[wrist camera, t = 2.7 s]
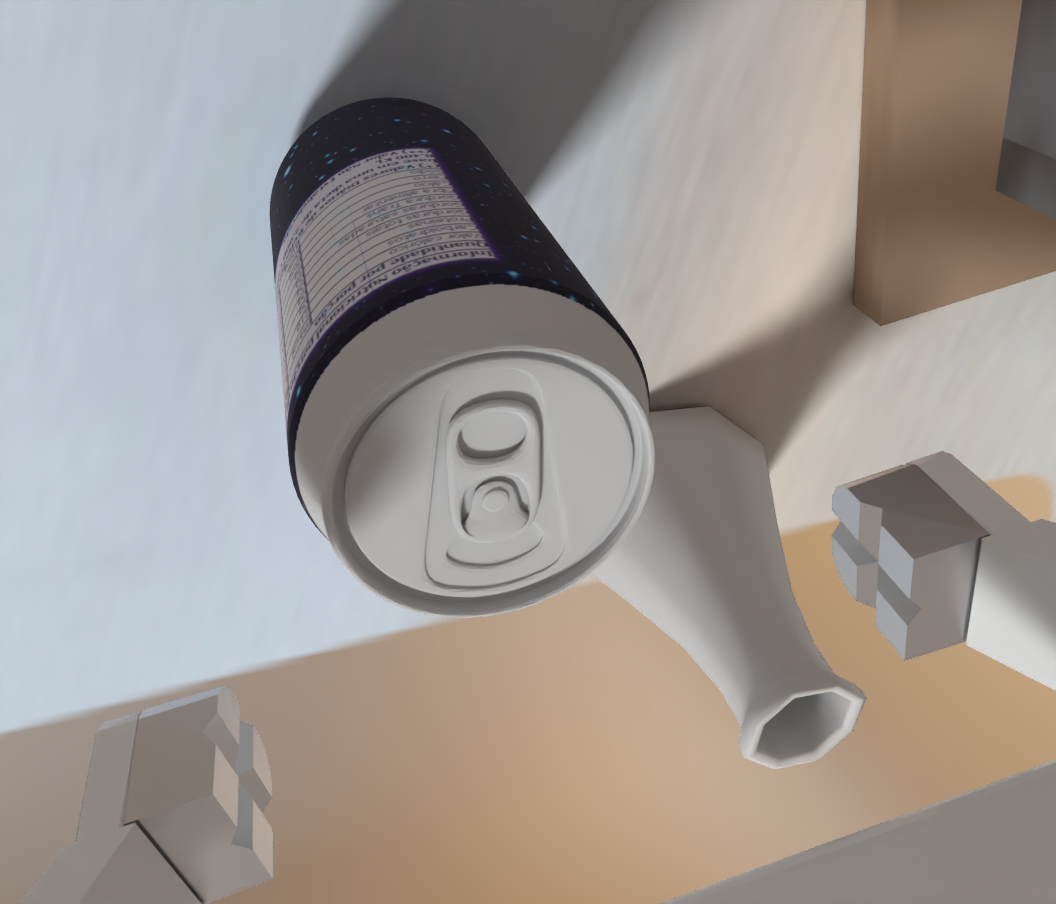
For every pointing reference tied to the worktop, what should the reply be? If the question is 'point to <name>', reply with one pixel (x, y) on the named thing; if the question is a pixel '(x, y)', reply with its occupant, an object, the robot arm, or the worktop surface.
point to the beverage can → (447, 370)
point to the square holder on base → (954, 152)
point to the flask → (730, 588)
